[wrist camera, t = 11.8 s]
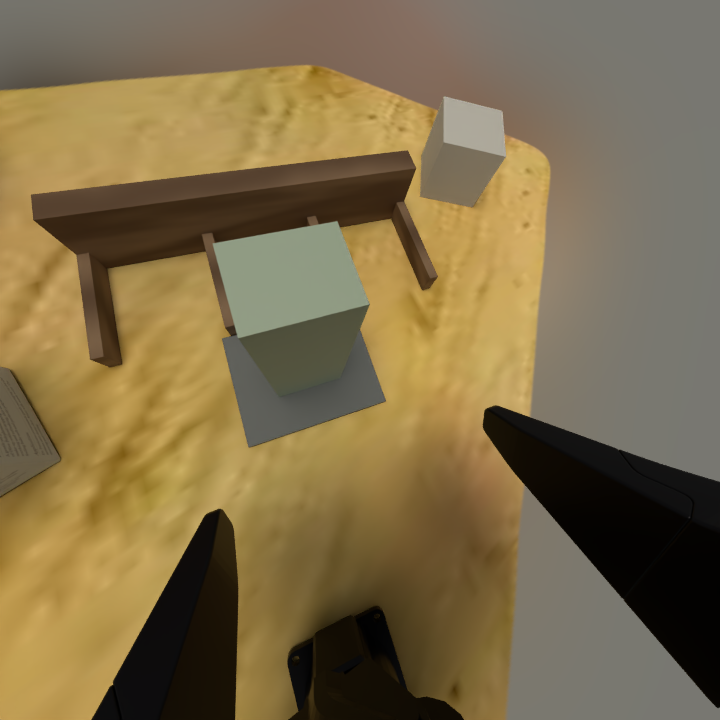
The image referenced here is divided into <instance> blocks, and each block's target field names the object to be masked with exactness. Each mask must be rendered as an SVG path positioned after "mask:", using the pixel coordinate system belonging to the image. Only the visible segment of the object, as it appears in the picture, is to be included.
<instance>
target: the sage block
mask: <svg viewBox="0 0 720 720" xmlns="http://www.w3.org/2000/svg"><path fill="white" fill-rule="evenodd" d="M213 247H214V251H215V255H216V258H217V262H218V266H219V269H220V273H221V277H222V281H223V284H224V288H225V292H226V295H227V299H228V303H229V307H230V310H231V314H232V318H233V321H234V325H235V329H236V333H237V336H238V339H239V340H240V342H241V343H242V345H243V346H244V348H245V349H246V350H247V352H248V353H249V355H250V356H251V358H252V359H253V360H254V362H255V363H256V365H257V366H258V368H259V369H260V370H261V372H262V373H263V375H264V376H265V378H266V379H267V381H268V382H269V383H270V385H271V386H272V388H273V389H274V391H275V392H276V393H277V395H278V396H279V397H282V396H285V395H288V394H291V393H295V392H298V391H301V390H304V389H307V388H311V387H314V386H317V385H320V384H323V383H326V382H330V381H333V380H336V379H339V378H340V377H341V375H342V372H343V370H344V367H345V365H346V362H347V360H348V357H349V355H350V352H351V350H352V347H353V345H354V342H355V340H356V337H357V335H358V332H359V330H360V327H361V325H362V322H363V320H364V317H365V315H366V312H367V310H368V307H369V305H370V304H369V301H368V299H367V296H366V294H365V291H364V288H363V286H362V283H361V281H360V278H359V276H358V273H357V270H356V268H355V265H354V263H353V260H352V258H351V255H350V253H349V250H348V247H347V245H346V242H345V240H344V237H343V235H342V232H341V230H340V227H339V224H338V222H337V221H336V222H330V223H324V224H319V225H313V226H308V227H302V228H297V229H291V230H285V231H280V232H274V233H269V234H263V235H257V236H252V237H246V238H241V239H235V240H229V241H224V242H218V243H213Z"/></svg>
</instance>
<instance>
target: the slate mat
mask: <svg viewBox="0 0 720 720" xmlns="http://www.w3.org/2000/svg"><path fill="white" fill-rule="evenodd" d="M222 341H223V345H224V349H225V353H226V357H227V361H228V365H229V369H230V373H231V378H232V382H233V386H234V390H235V394H236V398H237V402H238V406H239V410H240V414H241V418H242V423H243V427H244V431H245V435H246V439H247V443H248V447H252V446H255V445H258V444H261V443H264V442H267V441H270V440H273V439H276V438H279V437H282V436H285V435H287V434H290V433H293V432H296V431H299V430H302V429H305V428H308V427H311V426H314V425H317V424H320V423H323V422H326V421H329V420H332V419H335V418H338V417H341V416H344V415H347V414H350V413H352V412H355V411H358V410H361V409H364V408H367V407H370V406H373V405H376V404H379V403H382V402H385V401H386V400H385V397H384V394H383V392H382V389H381V386H380V383H379V381H378V378H377V375H376V372H375V370H374V367H373V364H372V361H371V359H370V356H369V353H368V350H367V348H366V345H365V342H364V339H363V337H362V334H361V331H360V330H359V332H358V335H357V337H356V340H355V342H354V345H353V347H352V350H351V352H350V355H349V357H348V360H347V362H346V365H345V367H344V370H343V372H342V375H341V377H340V378H339V379H336V380H333V381H330V382H326V383H323V384H320V385H317V386H314V387H311V388H307V389H304V390H301V391H298V392H295V393H291V394H288V395H285V396H282V397H279V396H278V395H277V393H276V392H275V391H274V389H273V388H272V386H271V385H270V383H269V382H268V381H267V379H266V378H265V376H264V375H263V373H262V372H261V370H260V369H259V368H258V366H257V365H256V363H255V362H254V360H253V359H252V358H251V356H250V355H249V353H248V352H247V350H246V349H245V348H244V346H243V345H242V343H241V342H240V340H239V339H238V336H237V335H234V336H230V337H226V338H222Z"/></svg>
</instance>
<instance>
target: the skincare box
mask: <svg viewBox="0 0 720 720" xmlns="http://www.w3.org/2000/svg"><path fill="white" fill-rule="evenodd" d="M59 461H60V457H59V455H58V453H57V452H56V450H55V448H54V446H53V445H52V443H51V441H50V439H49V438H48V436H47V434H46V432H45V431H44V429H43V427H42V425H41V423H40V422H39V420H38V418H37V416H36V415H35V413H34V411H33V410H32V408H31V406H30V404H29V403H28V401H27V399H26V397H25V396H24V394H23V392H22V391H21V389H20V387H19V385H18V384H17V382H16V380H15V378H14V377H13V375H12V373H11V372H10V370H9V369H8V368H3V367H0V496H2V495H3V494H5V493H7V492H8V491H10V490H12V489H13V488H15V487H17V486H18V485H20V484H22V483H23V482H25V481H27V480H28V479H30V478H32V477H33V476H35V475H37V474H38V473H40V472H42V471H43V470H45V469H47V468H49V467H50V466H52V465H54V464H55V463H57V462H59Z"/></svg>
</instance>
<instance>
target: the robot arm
mask: <svg viewBox="0 0 720 720" xmlns="http://www.w3.org/2000/svg"><path fill="white" fill-rule="evenodd" d="M483 429H484V431H485V433H486V434H487V436H488V437H489V438H490V440H491V441H492V443H493V444H494V446H495V447H496V448H497V450H498V451H499V453H500V454H501V455H502V457H503V458H504V460H505V461H506V463H507V464H508V465H509V467H510V468H511V469H512V470H513V472H514V473H515V474H516V475H517V476H518V477H519V479H520V480H521V481H522V482H523V483H524V484H525V486H526V487H527V488H528V489H529V490H530V491H531V493H532V494H533V495H534V496H535V497H536V498H537V500H538V501H539V502H540V503H541V504H542V505H543V507H544V508H545V509H546V510H547V511H548V512H549V513H550V515H551V516H552V517H553V518H554V519H555V521H556V522H557V523H558V524H559V525H560V526H561V528H562V529H563V530H564V531H565V532H566V533H567V534H568V536H569V537H570V538H571V539H572V540H573V542H574V543H575V544H576V545H577V546H578V547H579V549H581V551H582V552H583V553H584V554H585V555H586V556H587V558H588V559H589V560H590V561H591V563H592V564H593V565H594V566H595V567H596V568H597V570H598V571H599V572H600V573H601V574H602V575H603V577H604V578H605V579H606V580H607V581H608V582H609V584H610V585H611V586H612V587H613V588H614V589H615V590H616V592H617V593H618V594H619V595H620V596H621V597H622V598H623V599H624V601H625V602H626V603H627V605H628V606H629V607H630V608H631V609H632V611H633V612H634V613H635V614H636V615H637V616H638V617H639V619H640V620H641V621H642V622H643V623H644V624H645V626H646V627H647V628H648V629H649V630H650V632H651V633H652V634H653V635H654V636H655V637H656V638H657V640H658V641H659V642H660V643H661V644H662V645H663V647H664V648H665V649H666V650H667V651H668V653H669V654H670V655H671V656H672V657H673V658H674V659H675V661H676V662H677V663H678V664H679V665H680V666H681V668H682V669H683V670H684V671H685V672H686V673H687V675H688V676H689V677H690V678H691V679H692V680H693V681H694V683H695V684H696V685H697V686H698V687H699V688H700V690H701V691H702V692H703V693H704V694H705V696H706V697H707V698H708V699H709V700H710V701H711V702H712V703H713V704H714V705H715V706H716V707H717V708H720V482H718V481H715V480H712V479H708V478H705V477H702V476H698V475H695V474H692V473H688V472H685V471H682V470H679V469H676V468H672V467H669V466H666V465H663V464H659V463H657V462H654V461H651V460H648V459H645V458H642V457H639V456H636V455H633V454H631V453H628V452H625V451H622V450H618V449H616V448H613V447H611V446H608V445H605V444H602V443H599V442H597V441H594V440H591V439H589V438H586V437H583V436H580V435H578V434H575V433H572V432H569V431H566V430H564V429H561V428H558V427H556V426H553V425H550V424H547V423H544V422H542V421H539V420H536V419H533V418H531V417H528V416H525V415H522V414H519V413H517V412H514V411H511V410H508V409H506V408H503V407H500V406H492V407H489V408H487V409H485V411H484V419H483ZM377 613H378V614H380V616H379V618H378V619H374V618H373V617H374V615H375V614H377ZM237 628H238V574H237V562H236V550H235V538H234V528H233V525H232V523H231V521H230V520H229V518H228V517H227V515H226V514H225V512H224V511H223V510H222V509H217V510H215V511H212V512H209V513H207V514H206V515H205V516H204V518H203V520H202V522H201V523H200V525H199V527H198V529H197V531H196V532H195V534H194V536H193V538H192V540H191V541H190V543H189V545H188V547H187V549H186V550H185V552H184V554H183V556H182V558H181V559H180V561H179V563H178V565H177V567H176V568H175V570H174V572H173V574H172V576H171V577H170V579H169V581H168V583H167V585H166V587H165V588H164V590H163V592H162V594H161V596H160V597H159V599H158V601H157V603H156V605H155V606H154V608H153V610H152V612H151V614H150V615H149V617H148V619H147V621H146V623H145V624H144V626H143V628H142V630H141V632H140V633H139V635H138V637H137V639H136V641H135V642H134V644H133V646H132V648H131V650H130V652H129V653H128V655H127V657H126V659H125V661H124V662H123V664H122V666H121V668H120V670H119V671H118V673H117V675H116V677H115V679H114V680H113V685H112V686H110V687H109V689H108V691H107V693H106V695H105V696H104V698H103V700H102V702H101V704H100V705H99V707H98V709H97V711H96V713H95V714H94V716H93V718H92V720H235V703H236V665H237ZM294 656H298V657H299V658H300V659H299V660H298V661H296V662H294V661H293V660H292V658H293V657H294ZM287 662H288V669H289V673H290V677H291V681H292V686H293V690H294V694H295V698H296V703H297V707H298V711H299V712H297V713H296V714H295V715H294V716H292V717H291V718H290V719H289V720H464V719H463V718H462V716H461V714H460V713H458V712H457V711H456V710H455V709H453V708H452V707H451V706H450V705H448V704H447V703H446V702H445V701H441V700H437V699H434V698H430V697H421V698H415V697H414V696H413V695H412V694H411V693H410V692H409V691H408V690H407V687H406V684H405V680H404V677H403V674H402V671H401V667H400V664H399V661H398V658H397V655H396V651H395V648H394V645H393V642H392V638H391V635H390V632H389V629H388V625H387V622H386V619H385V616H384V613H383V611H382V609H381V608H380V607H379V606H374V607H372V608H370V609H368V610H366V611H364V612H362V613H360V614H358V615H356V616H352V615H350V616H348V617H346V618H344V619H342V620H340V621H338V622H336V623H334V624H332V625H330V626H328V627H326V628H324V629H322V630H320V631H318V632H316V634H315V636H314V638H312V639H310V640H308V641H306V642H304V643H302V644H300V645H298V646H296V647H294V648H293V649H292V650H291V651H290V652H289V655H288V661H287Z"/></svg>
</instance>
